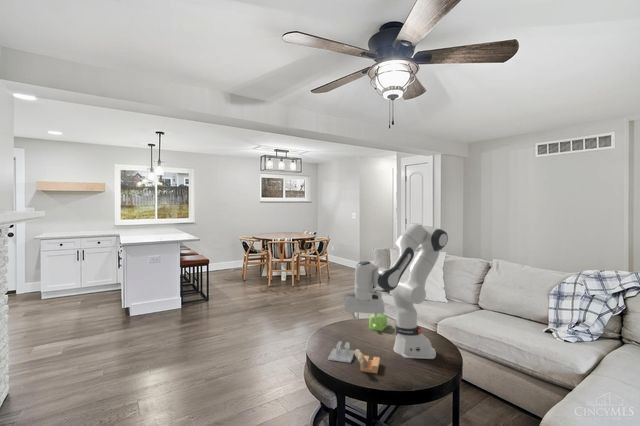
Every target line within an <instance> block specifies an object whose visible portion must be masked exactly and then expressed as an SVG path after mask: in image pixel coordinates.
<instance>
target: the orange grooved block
mask: <svg viewBox="0 0 640 426" xmlns="http://www.w3.org/2000/svg"><path fill="white" fill-rule="evenodd" d="M362 355H363V356H364V358H365V359H366V361H367V362H368V364H369V365H368V367H367V368H363V367H362V365H361V364H360V363H359V366H360V372H364V373H372V374H378V371H379V367H380V363H381V362H380V359H381V358H380V357H379V356H373V358H372V359H370V356H369V355H364V354H362Z"/></svg>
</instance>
